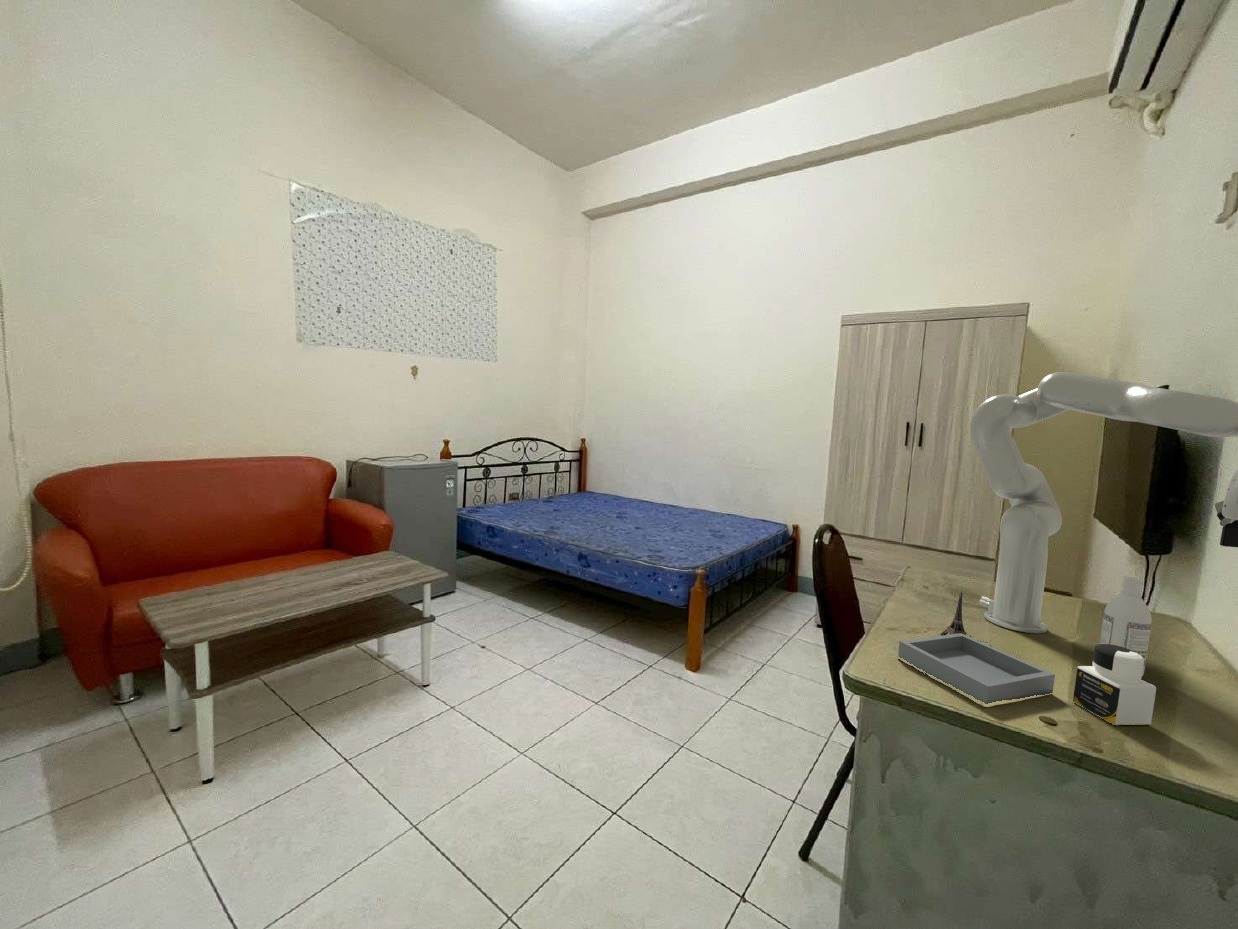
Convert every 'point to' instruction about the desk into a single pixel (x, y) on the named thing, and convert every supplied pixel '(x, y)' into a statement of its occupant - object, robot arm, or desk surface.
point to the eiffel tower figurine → (957, 621)
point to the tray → (976, 668)
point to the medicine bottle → (1115, 686)
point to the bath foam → (1128, 619)
